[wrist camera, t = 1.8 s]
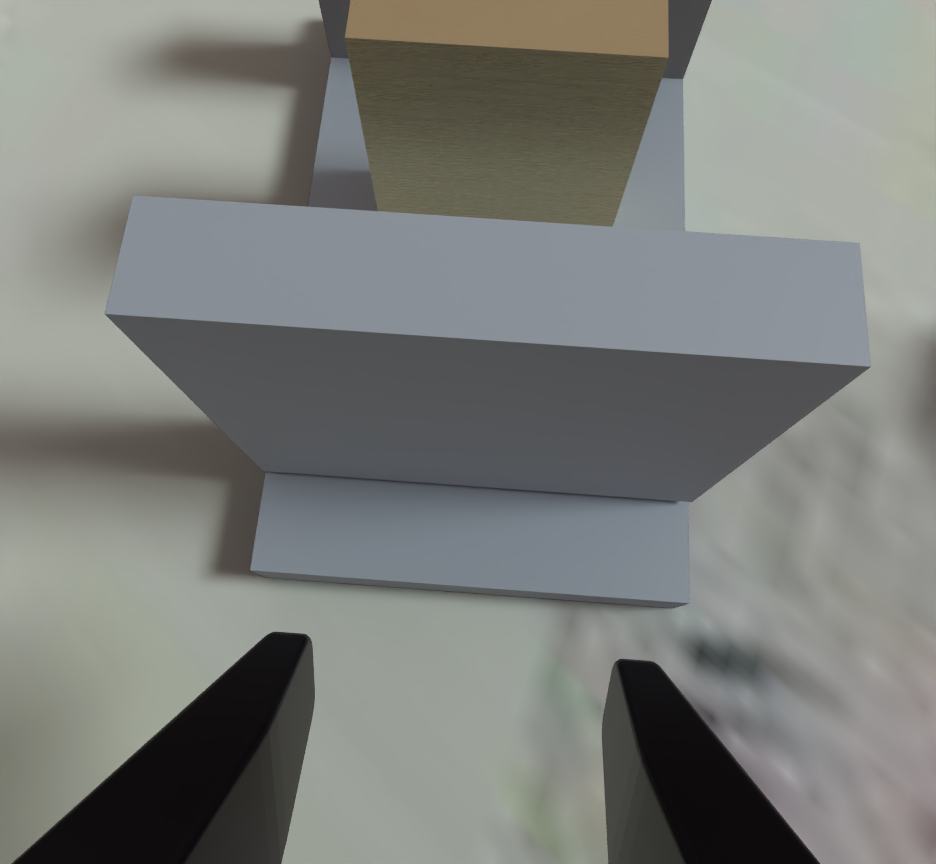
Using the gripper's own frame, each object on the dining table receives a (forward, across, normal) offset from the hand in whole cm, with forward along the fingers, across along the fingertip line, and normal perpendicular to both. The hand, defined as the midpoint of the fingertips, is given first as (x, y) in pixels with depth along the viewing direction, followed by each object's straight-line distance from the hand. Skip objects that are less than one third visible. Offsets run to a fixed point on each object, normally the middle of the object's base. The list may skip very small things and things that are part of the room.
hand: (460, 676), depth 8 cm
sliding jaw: (+12, 0, +4) cm, 12 cm away
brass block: (+17, 0, -1) cm, 17 cm away
